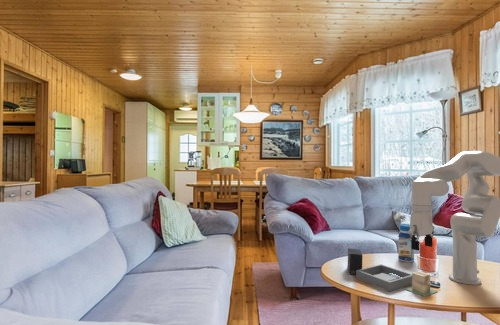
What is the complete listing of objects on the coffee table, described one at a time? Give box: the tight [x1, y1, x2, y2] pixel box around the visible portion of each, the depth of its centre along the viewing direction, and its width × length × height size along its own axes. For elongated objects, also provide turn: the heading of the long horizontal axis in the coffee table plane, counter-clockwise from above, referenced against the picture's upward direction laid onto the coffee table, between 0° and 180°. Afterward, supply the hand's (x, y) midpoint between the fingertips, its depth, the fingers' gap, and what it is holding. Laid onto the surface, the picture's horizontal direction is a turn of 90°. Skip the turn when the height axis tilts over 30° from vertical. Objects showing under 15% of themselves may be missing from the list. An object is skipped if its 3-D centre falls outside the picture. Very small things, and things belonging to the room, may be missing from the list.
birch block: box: [411, 270, 431, 293], centre depth 139 cm, size 5×5×7 cm
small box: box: [347, 248, 363, 276], centre depth 162 cm, size 11×6×10 cm, turn 168°
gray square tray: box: [355, 264, 412, 293], centre depth 150 cm, size 18×18×4 cm
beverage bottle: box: [397, 223, 415, 263], centre depth 182 cm, size 8×8×20 cm
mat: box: [404, 285, 439, 298], centre depth 139 cm, size 10×9×1 cm
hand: (422, 247), depth 139 cm, fingers open, 9 cm apart
